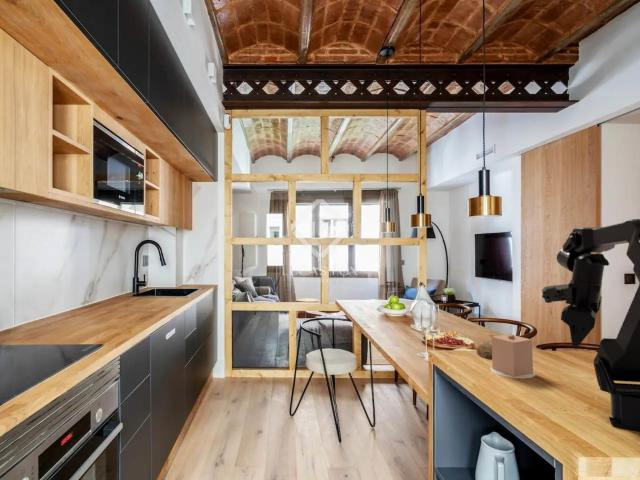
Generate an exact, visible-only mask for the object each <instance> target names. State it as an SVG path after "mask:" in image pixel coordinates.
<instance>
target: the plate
mask: <svg viewBox="0 0 640 480" xmlns="http://www.w3.org/2000/svg"><path fill="white" fill-rule="evenodd" d="M490 370H491V372H492V373H495V374H496V375H499V376H502V377H507V378H513V379H531V378H534V377H535V376H536V375H537V374H536V371H534V370H533V373H532V374H527V375H522V376H517V377H513V376H510V375H508V374H505V373H502V372H500V371H497V370H494V369H493V367H492V366H490Z"/></svg>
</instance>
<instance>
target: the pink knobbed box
mask: <svg viewBox="0 0 640 480" xmlns="http://www.w3.org/2000/svg"><path fill="white" fill-rule="evenodd" d="M491 339H492V359H491V361H492V362H491V363H492V366H491V367H493V369H494V370H497V371H500V372H502V373H505V374H508V375H510V376H513V377H517V376H522V375H527V374H532V373H533V371H534V358H533V357H534V356H533V339H531V338H530V339H529V338H526V337H523V336H519V335H515V334H510V333H508V334H502V335H494V336H491Z"/></svg>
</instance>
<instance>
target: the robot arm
mask: <svg viewBox="0 0 640 480" xmlns="http://www.w3.org/2000/svg"><path fill="white" fill-rule="evenodd" d="M622 244H628V245H627V249H626V256H627V257H628V258H629V260H630V262H631V263H632V264H633V268H632V270H633V272H634V274H635V277H636V279H637V280H638V287H637V289H636V292H635V294H634V296H633V298H632V300H631V303H630V306H629V308H628V310H627V312H626V315H625V317H624V318H623V319H624V320H623V321H622V324H621V327H620V329H619V331H618V334H617V336H616V338H608V337H607V338H606V337H605V338H604V337H603V338H602V339H601V340H600V342H599V346H598V348H597V349H596V350H595V351H596V355H595V357H594V359H593V366H594V371H595V377H596V381H597V385H598V387H599V389H600V391H602V392H606V393H608V394H610V408H611V416H608V419H609V421H610V425H611V426H613V427H617V428H623V429H628V430H633V431H637V432H640V218H632V219H629V220H626V221H624V222H620V223H615V224H612V225H606V226H595V227H594V226H593V227H592V226H590V227H589V226H588V227H587V226H586V227H575V228H573V230H572V231H571V232H570V233H569V235H568V237H567V239H566V241H565V242H564V243H563V245H562V248H561V249H560V250H559V251H558V253H557V255H556V261H557V263H558V264H559V265H560V266H561V267H562V268H564V269H566V270H568V271H570V272H572V276H571V279H570V280H569V282H568V284H558V285H557V284H554V285H547V286H544V287H543V289H541V292H542V295H541V297H542V298H543V299H544V302H545V303H546V304H549V303H550V304H551V303H553V302H554V303H555V302H565V304H567V305H566V306H565V307H564V308H563V309H562V311H561V314H560V315H561V316H560V320H561V321H562V322H563V323H565V324H566V325H567V326H568V327H569V333H570V338H571V344H572V347H577V348H579V346H580V345H581V344H582V343H583V341H584V340H585V338H586V337H587V336H588V335H589V334H590V333H591V332H592V330H593V329H594V328H595V325H596V322H597V315H598V312H599V311H600V308H601V304H602V296H601V289H602V286H603V277H604V271H605V267H607V266H609V265H610V262H609V261H608V259H607V258H606V257H605V256H604V254H603V252H608V251H610V250H611V251H612V250H614V249H615V247H616V246H617V245H622ZM623 382H625V383H623ZM626 382H628V383H626ZM630 382H632V383H630Z"/></svg>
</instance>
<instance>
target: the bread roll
mask: <svg viewBox="0 0 640 480" xmlns="http://www.w3.org/2000/svg"><path fill="white" fill-rule="evenodd" d="M476 354H477V356H479V357H481V358H483V359H491V360H492V338H491V339H487V340H484V341H482V342H481V343H479V345H478V346H477V349H476Z"/></svg>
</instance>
